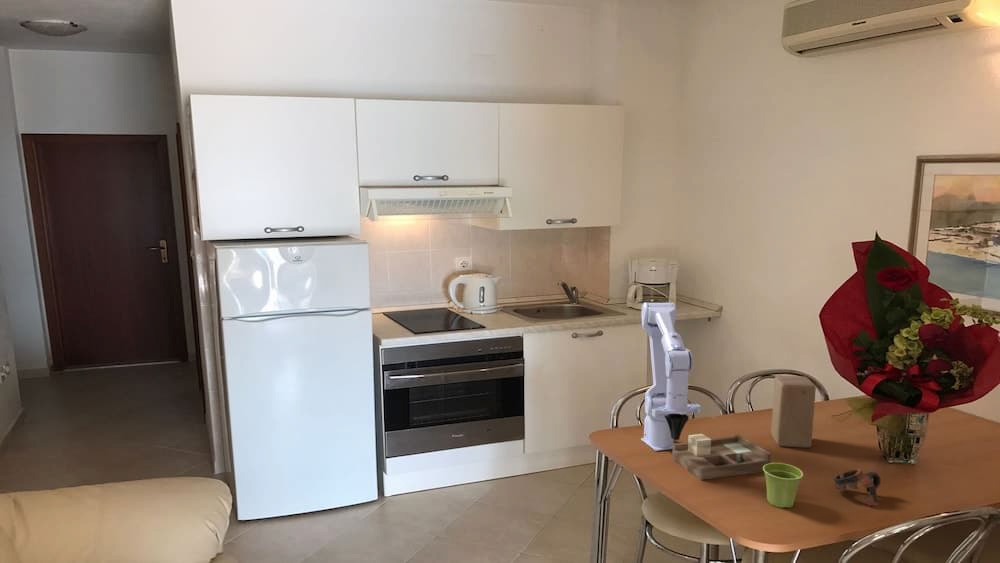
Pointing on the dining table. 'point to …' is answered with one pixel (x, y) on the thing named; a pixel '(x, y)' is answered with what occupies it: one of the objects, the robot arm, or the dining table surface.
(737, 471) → the trap box
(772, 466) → the plant pot
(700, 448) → the maple block
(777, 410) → the wooden block
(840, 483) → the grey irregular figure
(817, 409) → the dining table surface
